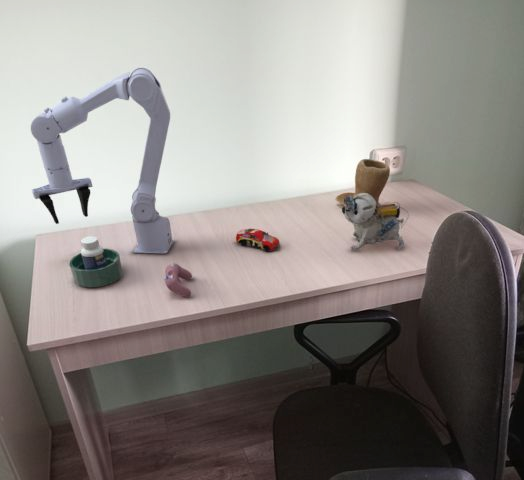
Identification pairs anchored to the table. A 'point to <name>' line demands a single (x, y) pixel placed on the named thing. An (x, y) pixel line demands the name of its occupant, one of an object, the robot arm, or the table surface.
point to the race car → (257, 239)
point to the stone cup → (368, 179)
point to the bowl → (97, 270)
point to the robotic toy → (372, 220)
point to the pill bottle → (92, 253)
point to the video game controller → (177, 279)
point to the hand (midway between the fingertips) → (71, 219)
